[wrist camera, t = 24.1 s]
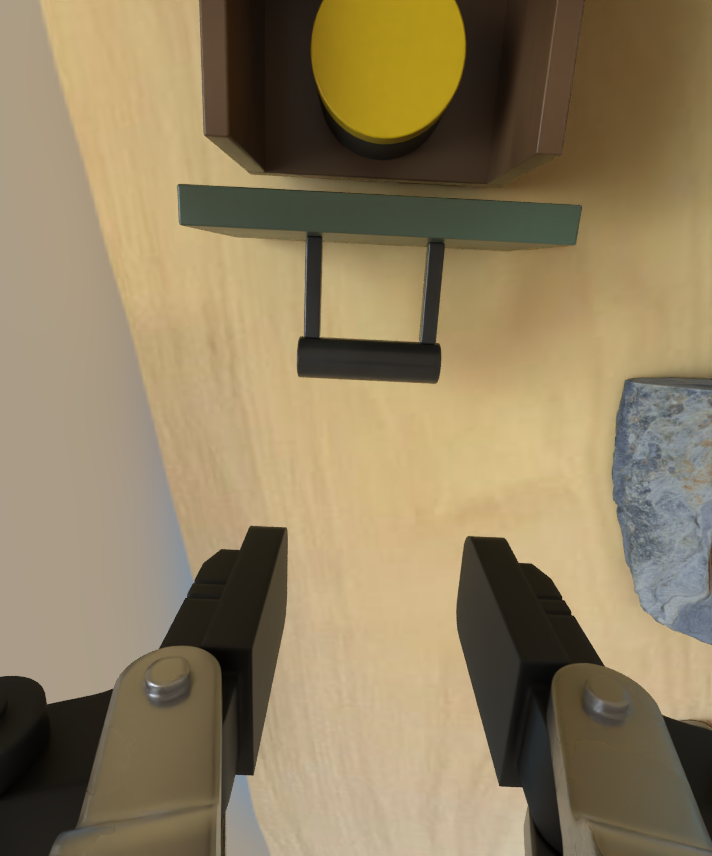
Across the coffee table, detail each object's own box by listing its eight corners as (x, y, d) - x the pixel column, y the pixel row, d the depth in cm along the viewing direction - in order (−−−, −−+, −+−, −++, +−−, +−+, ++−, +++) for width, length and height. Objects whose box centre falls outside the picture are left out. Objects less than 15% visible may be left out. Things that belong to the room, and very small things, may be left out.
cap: (317, 157, 22) (308, 134, 18) (320, 9, 20) (312, -49, 17) (440, 163, 22) (458, 142, 18) (453, 16, 21) (475, -40, 17)
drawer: (493, 365, 26) (550, 406, 18) (237, 352, 26) (186, 389, 18) (560, -156, 20) (684, -413, 12) (227, -176, 20) (145, -448, 12)
